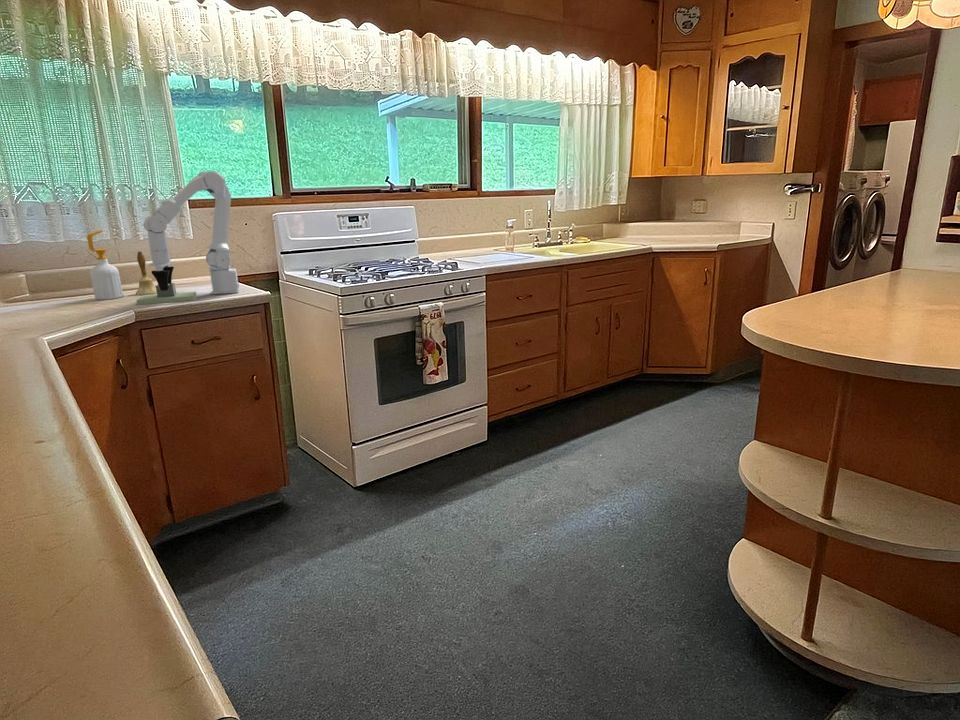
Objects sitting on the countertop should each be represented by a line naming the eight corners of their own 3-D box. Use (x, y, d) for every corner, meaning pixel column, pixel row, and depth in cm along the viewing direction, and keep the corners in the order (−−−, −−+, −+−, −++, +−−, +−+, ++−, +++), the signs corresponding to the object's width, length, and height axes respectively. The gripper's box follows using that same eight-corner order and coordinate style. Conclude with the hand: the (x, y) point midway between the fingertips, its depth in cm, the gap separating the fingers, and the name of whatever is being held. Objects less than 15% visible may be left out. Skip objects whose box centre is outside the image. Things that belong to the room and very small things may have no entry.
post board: (196, 295, 227) (194, 280, 226) (193, 300, 218) (191, 284, 216) (143, 299, 222) (140, 284, 220) (137, 304, 213) (134, 288, 211)
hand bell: (149, 295, 231) (141, 252, 226) (130, 295, 232) (122, 252, 228) (164, 291, 238) (157, 250, 234) (146, 291, 240) (138, 250, 236)
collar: (176, 293, 223) (174, 283, 222) (174, 296, 218) (172, 285, 217) (160, 295, 221) (158, 284, 220) (157, 297, 216) (155, 286, 215)
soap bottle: (127, 297, 228) (114, 230, 221) (99, 301, 221) (85, 232, 214) (118, 294, 233) (106, 229, 227) (92, 298, 227) (78, 231, 220)
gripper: (150, 249, 220) (157, 286, 224) (142, 253, 207) (150, 292, 211) (172, 248, 223) (178, 285, 226) (165, 252, 209) (172, 291, 213)
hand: (166, 288), depth 219 cm, fingers open, 7 cm apart
